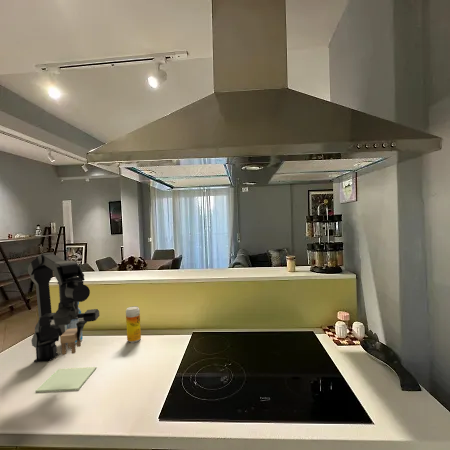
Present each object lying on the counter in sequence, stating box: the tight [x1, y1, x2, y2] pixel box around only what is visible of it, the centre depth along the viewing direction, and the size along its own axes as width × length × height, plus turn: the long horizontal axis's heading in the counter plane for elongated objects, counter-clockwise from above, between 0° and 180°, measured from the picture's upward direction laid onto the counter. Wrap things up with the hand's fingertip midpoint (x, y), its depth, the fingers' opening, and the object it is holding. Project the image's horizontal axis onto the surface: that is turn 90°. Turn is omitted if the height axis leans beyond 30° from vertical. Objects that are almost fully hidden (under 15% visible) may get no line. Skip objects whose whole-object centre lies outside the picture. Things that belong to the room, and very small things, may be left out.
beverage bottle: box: [65, 302, 84, 346], centre depth 138 cm, size 8×8×20 cm
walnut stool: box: [59, 328, 82, 356], centre depth 106 cm, size 7×4×6 cm, turn 9°
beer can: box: [125, 306, 142, 344], centre depth 137 cm, size 6×6×15 cm
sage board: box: [35, 366, 97, 393], centre depth 105 cm, size 14×14×1 cm
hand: (71, 340), depth 106 cm, fingers closed on walnut stool, 4 cm apart
